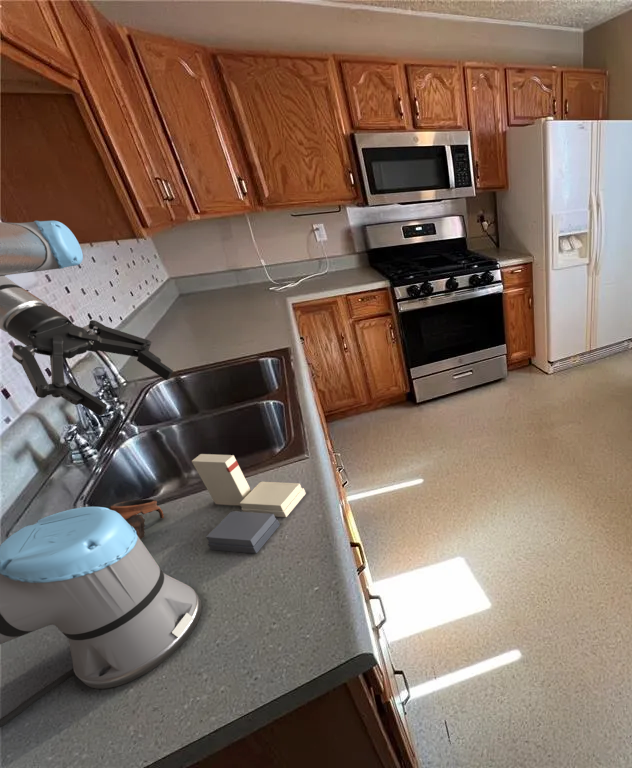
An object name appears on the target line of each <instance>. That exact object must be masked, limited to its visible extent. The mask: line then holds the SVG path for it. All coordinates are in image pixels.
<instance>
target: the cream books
mask: <svg viewBox="0 0 632 768" xmlns="http://www.w3.org/2000/svg"><path fill="white" fill-rule="evenodd" d="M306 494H307V492H306V490H305V488H304V487H302V485H301V483H298V482H297V483H296V482H277V481H276V482H275V481H260V482H259V483H258V484H257V485H256V486H255V487H254V488H253V489H251V492H250V493H249V494H248V495H247V496H246V497H245V498H244V499H243V500H242V501H241V502H240V505H241V506H240V507H241V509H240V510H241V512H252V513H268V514H274V516H275V518H287V517H288V516H289V514H290V513H291V512H292V511H293V510H294V509H295V508H296V506H297V505H298V504H299V503H300V502H301V500H302V499H303V498H304V497H305V495H306Z"/></svg>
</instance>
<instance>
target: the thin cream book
mask: <svg viewBox="0 0 632 768" xmlns="http://www.w3.org/2000/svg"><path fill="white" fill-rule="evenodd" d="M191 464H192V465H193V467H194V468H195V470H196V472H197V474H198V476H199V478H200V479H201V481H202V483H203V485H204V486H205V488H206V489H207V492H208V493H209V495H210V497H211V499H212V501H213V502H214V504H215V505H221V506H223V505H224V506H238V507H239V506H240V507H241V505H240V502H241V501H242V500H243V499H244V498H245V497H246V496H247V495H248V494H249V493H250V492H251V491H252V489H251V488H250V484H249V483H248V481H247V480H246V477H245V475H244V473H243V471H242V469H241V467H240V465H239V463H238V460H237V459H236V457H235V455H234V454H232V455H231V454H213V453H212V454H211V453H200V454H198V456H196V457H195V458H193V459H192V460H191Z"/></svg>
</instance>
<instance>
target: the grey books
mask: <svg viewBox="0 0 632 768" xmlns="http://www.w3.org/2000/svg"><path fill="white" fill-rule="evenodd" d="M280 526H281V524H280V522H279V519H278V518H277V517H275V516H274V514H268V513H252V512H242V511H237V510H236V511H235V510H234V511H232V510H231V511H230V512H229V513H228V514H227V515H226V516H225V517H224V518H223V519H222V520H221V521H220V522H219V523H218V524H217V525H216V526H215V527H214V528H213V529H212V530H211V531H210V532H209V533H208V534H207V535H206V536H205V538H206V539H207V541H208V543H207V546H208V547H209V549H210V550H211V551H220V552H221V551H222V552H234V553H245V554H257V553H258V552H259V551H260V550H261V549H262V548H263V546H264V545H265V544H266V543H267V541H268V540H269V539H270V538H271V537H272V536H273V535H274V533H275V532H276V531H277V530H278V528H279V527H280Z"/></svg>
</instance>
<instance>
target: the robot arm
mask: <svg viewBox="0 0 632 768" xmlns="http://www.w3.org/2000/svg"><path fill="white" fill-rule="evenodd" d="M83 260H84V255H83V250H82V247H81V244H80V243H79V240H78V239H77V238H76V236H75V234H74V233H73V232H72V230H71V229H70V228H69V226H67V225H65V224H64V223H63V222H60V221H58V220H34V221H28V222H2V221H0V330H1V331H3V332H5V333H7V334H8V335H9V336H10V337H11V338H13V339H14V340H16V341H18V342H20V343H21V344H23V345H24V346H23V345H21V344H16V345H14V346H13V348H12V355H11V357H12V359H13V360H15V361H16V362H17V363H18V364H20V365H21V367H22V369H23V371H24V373H25V376H26V377H27V379H28V381H29V383H30V385H31V387H32V389H33V391H34V394H35V395H36V397H37V398H39V399H44V398H47V396H51V397H53V398H56V399H57V398H62V399H64V400H66V401H67V402H69V403H70V404H72V405H75V406H79V405H81V406H83V407H85V408H86V409H88V410H90V411H91V412H92V413H94V414H96V415H98V416H99V417H101V416H103V415H105V413H106V410H107V407H108V404H107V403H105V402H104V401H102V400H100V399H99V398H97V397H96V396H94V395H92V394H91V393H89V392H88V391H87V390H85V389H83V388H81V387H80V386H78V385H77V384H76V383H74V382H72V381H70V382H68V383H66V384H65V371H64V370H65V369H64V359H68V360H70V359H73V358H74V357H76V356H77V355H82V354H86V353H87V352H94V353H95V352H103V353H110V354H117V355H122V356H129V357H134V358H137V359H136V361H137V362H138V363H139V364H141V365H143V366H144V367H146V368H147V369H149V370H150V371H151V372H153V373H154V374H156V375H157V376H159V377H160V378H162V379H163V380H165V381H168V380H170V379H171V376H172V374H173V372H174V370H173V369H171V367H169V366H167V365H166V364H165V363H163V362H162V359H161V358H160V357H159V356H157V355H156V354H154V353H153V352H151V351H150V348H151V345H152V341H150V340H149V339H146V338H144V337H140V336H137V335H134V334H130V333H127V332H124V331H121V330H118V329H115V328H113V327H109V326H106V325H104V324H102V323H101V322H99V321H97V320H95V319H91V320H89V321H88V322H89V323H88V324H87V325H85V326H82V327H81V326H79V325H76V324H74V323H73V322H72V321H71V320H70V319H69V318H68V317H67V316H66V315H64V314H63V313H61V312H59V311H58V310H57V309H55V308H53V306H50V305H48V303H47V302H45V301H43V299H40V298H39V297H38V296H36V295H35V294H33V293H31V292H30V291H28V290H27V289H25V288H23V286H20V285H19V284H17V283H16V282H14V281H13V280H12V279H10V278H8V277H7V276H11V275H18V274H28V273H36V272H43V271H51V270H62V269H65V268H69V267H75V266H79V265H81V264H82V263H83ZM90 342H93V343H92V344H91V343H90ZM36 354H38V355H43V356H48V357H49V362H50V363H49V365H50V374H51V375H50V376H51V377H50V379H51V383H48V381H47V379H46V377H45V375H44V373H43V371H42V369H41V367H40V365H39V363H38V361H37V359H36V357H35V355H36ZM142 541H143V540H142V539H141V540H140V538H139V537H138V536H137V533H136V530H135V529H134V528H133V527H132V526H131V525H130V524H128V523H127V521H126V520H125V519H124V518H123V517H122V516H121V515H120V514H119V513H117V512H116V511H114V510H110V508H108V507H104V506H83V507H75V508H70V509H66V510H63V511H58V512H55V513H53V514H49V515H47V516H45V517H42V518H40V519H37V521H36V522H35V523H34V524H31V525H29V524H28V525H25V526H24V527H21V528H19V530H17V531H15V532H14V533H12V534H11V535H10V536H8V537H7V538H6V539H5V540H4V541H2V543H0V645H2V644H5V643H7V642H10V641H12V640H15V639H17V638H21V637H23V636H25V635H27V634H30V633H33V632H35V631H39V630H41V629H43V628H46V627H48V626H55V627H56V629H58V630H59V631H60V632H61V633H62V634H63V635H64V636H65V637H66V638H67V642H68V647H69V651H70V656H71V662H72V668H71V669H69V670H68V671H67V672H65V673H63V674H62V675H61V676H59V677H58V678H56V679H55V680H53V681H52V682H50V683H49V684H47V685H46V686H45V687H43V688H41V689H40V690H39V691H37V692H35V693H34V694H33V695H31V696H30V697H28V698H27V699H25V700H24V701H23V702H21V703H20V704H19V705H18V706H17V707H15V708H14V709H12V710H10V711H9V712H8V713H7V714H5V715H4V716H2V717H1V718H0V728H1V727H3V726H4V725H6V724H8V723H10V721H12V720H13V719H15V718H16V717H18V716H19V715H20V714H21V713H23V712H24V711H26V710H27V709H28V708H30V707H31V706H33V704H35V703H36V702H38V701H40V699H42V698H43V697H45V696H46V695H48V694H50V693H51V692H52V691H53V690H55V689H57V688H59V686H61V685H62V684H64V683H65V682H67V681H68V680H69V679H71V678H73V676H76V677H77V678H78V680H80V681H81V682H82V683H83V684H84V685H85V686H87V687H89V688H92V689H98V690H101V689H103V690H104V689H111V688H115V687H118V686H122V685H126V684H128V683H130V682H133V681H135V680H136V679H138V678H140V677H142V676H145V675H146V674H148V673H149V672H151V671H152V670H154V669H155V668H156V667H158V666H159V665H161V664H163V662H165V661H166V660H167V659H168V658H169V657H171V656H172V655H173V654H174V653H175V652H177V650H179V648H180V647H181V646H182V645H183V644H184V643H185V642H186V640H188V638H189V637H190V635H191V634H192V632H193V631H194V630H195V628H196V626H197V625H198V622H199V620H200V617H201V614H202V609H203V606H202V605H203V604H202V600H201V598H200V596H199V594H198V593H197V592H196V590H195V589H194V588H193V587H192V586H191V585H189V584H186V583H185V582H182V581H181V580H178V579H176V578H174V577H171V575H168V574H166V573H165V572H164V571H163V570H162V569H161V567H160V565H158V563H157V561H156V560H155V558H154V557H153V556H152V554H151V553H150V551H149V550H148V549H147V547H146V545H145V544H144V543H143V542H142Z"/></svg>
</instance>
